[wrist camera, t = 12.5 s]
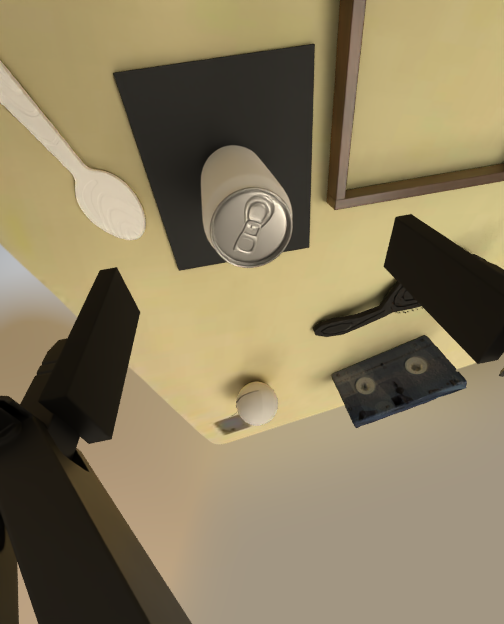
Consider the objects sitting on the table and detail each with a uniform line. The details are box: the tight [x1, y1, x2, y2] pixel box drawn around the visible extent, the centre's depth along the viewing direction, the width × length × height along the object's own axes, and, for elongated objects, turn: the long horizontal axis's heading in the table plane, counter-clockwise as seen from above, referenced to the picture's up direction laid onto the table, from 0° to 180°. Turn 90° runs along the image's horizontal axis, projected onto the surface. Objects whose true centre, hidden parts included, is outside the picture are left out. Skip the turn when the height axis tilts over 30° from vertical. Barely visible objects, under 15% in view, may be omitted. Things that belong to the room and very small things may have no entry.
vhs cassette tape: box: [332, 335, 467, 428], centre depth 48 cm, size 18×3×10 cm, turn 115°
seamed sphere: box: [228, 381, 278, 426], centre depth 49 cm, size 10×7×7 cm
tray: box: [327, 0, 504, 210], centre depth 25 cm, size 18×22×2 cm
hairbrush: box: [313, 254, 486, 337], centre depth 41 cm, size 8×4×25 cm
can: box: [201, 145, 293, 268], centre depth 23 cm, size 6×6×12 cm
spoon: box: [0, 61, 146, 240], centre depth 24 cm, size 5×18×1 cm, turn 28°
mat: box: [113, 44, 315, 271], centre depth 28 cm, size 18×16×1 cm
